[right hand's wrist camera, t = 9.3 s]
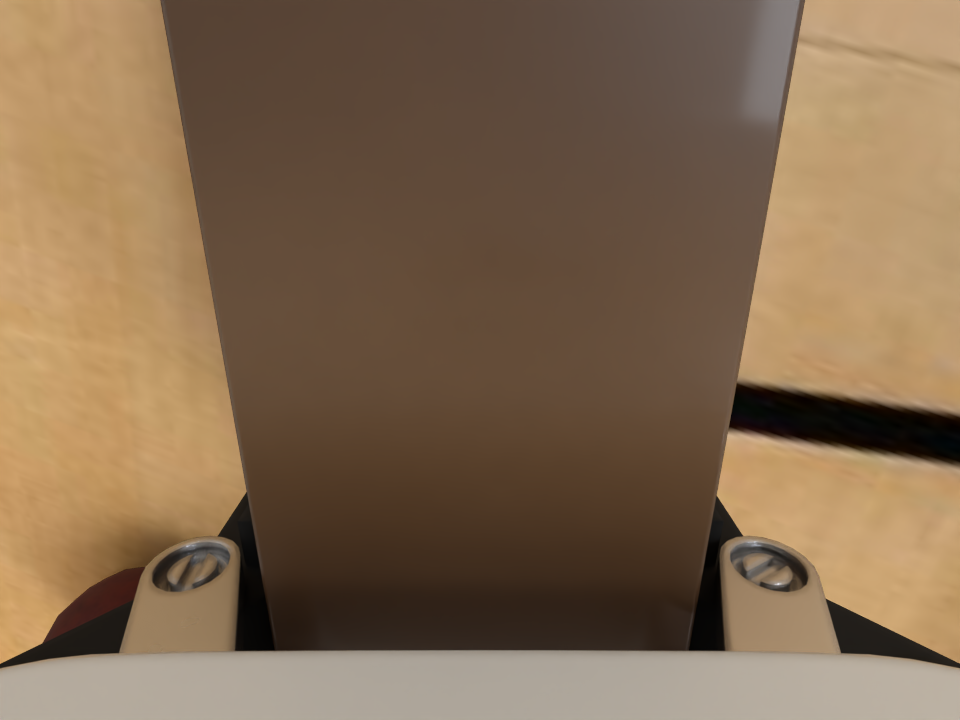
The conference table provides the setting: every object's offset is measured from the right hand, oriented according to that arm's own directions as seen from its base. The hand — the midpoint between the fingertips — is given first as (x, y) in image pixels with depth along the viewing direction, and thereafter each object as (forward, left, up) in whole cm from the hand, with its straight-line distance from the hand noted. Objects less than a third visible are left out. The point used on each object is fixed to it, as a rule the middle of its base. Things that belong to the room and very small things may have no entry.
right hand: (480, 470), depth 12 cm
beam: (+33, -7, -2) cm, 34 cm away
